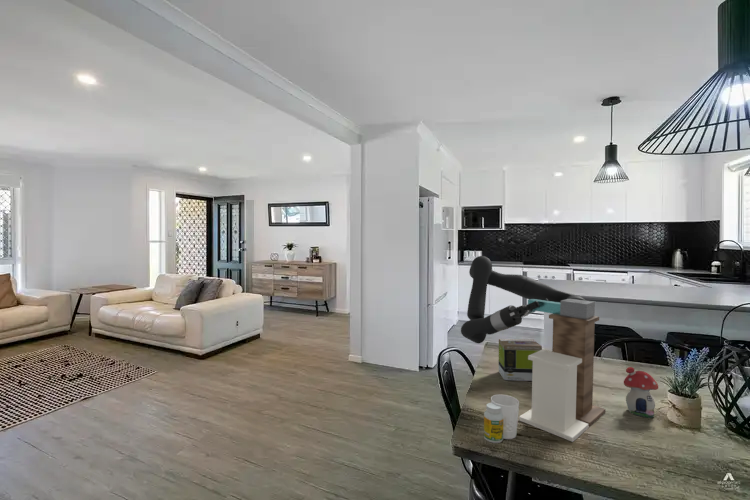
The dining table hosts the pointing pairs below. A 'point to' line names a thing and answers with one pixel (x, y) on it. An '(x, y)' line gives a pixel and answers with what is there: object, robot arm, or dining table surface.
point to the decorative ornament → (640, 393)
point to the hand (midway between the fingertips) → (543, 302)
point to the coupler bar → (567, 308)
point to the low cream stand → (554, 395)
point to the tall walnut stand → (579, 342)
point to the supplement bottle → (493, 423)
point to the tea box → (516, 358)
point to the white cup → (508, 414)
